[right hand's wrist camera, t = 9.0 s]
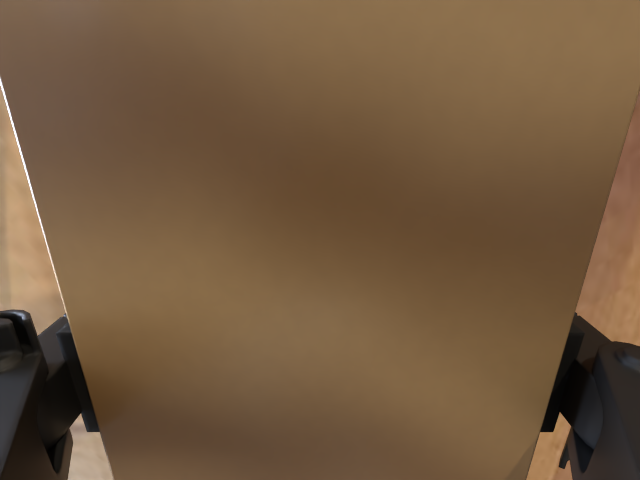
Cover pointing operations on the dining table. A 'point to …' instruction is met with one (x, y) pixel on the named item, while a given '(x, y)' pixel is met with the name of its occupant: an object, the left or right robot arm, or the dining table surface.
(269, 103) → the thick board
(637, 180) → the dining table surface
